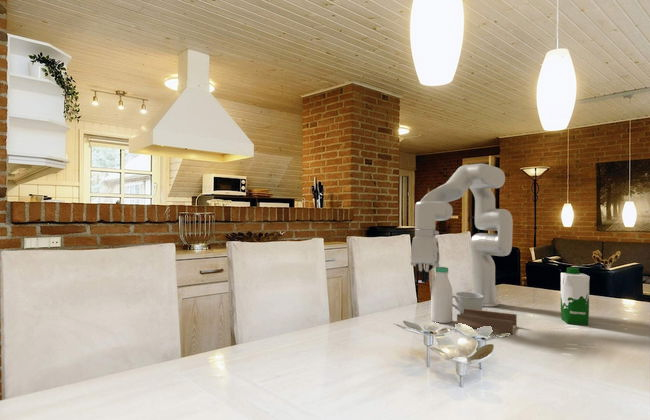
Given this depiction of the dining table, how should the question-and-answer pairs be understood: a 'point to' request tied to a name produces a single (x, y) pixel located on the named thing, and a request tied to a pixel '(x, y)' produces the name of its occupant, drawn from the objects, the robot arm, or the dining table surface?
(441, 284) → the milk bottle
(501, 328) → the cradle
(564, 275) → the milk carton
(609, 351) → the dining table surface
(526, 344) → the dining table surface
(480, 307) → the teacup
